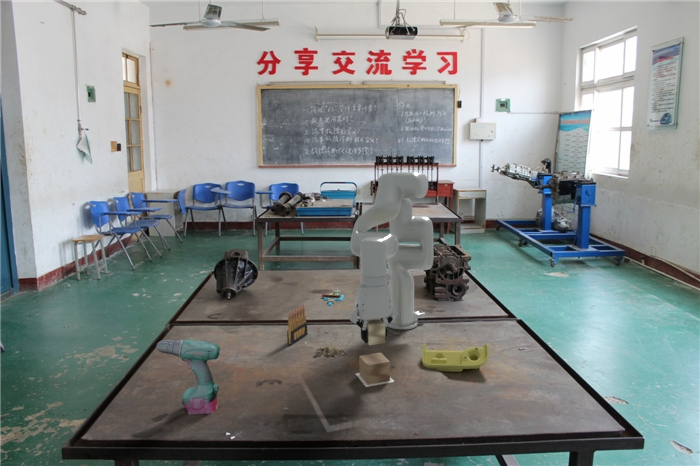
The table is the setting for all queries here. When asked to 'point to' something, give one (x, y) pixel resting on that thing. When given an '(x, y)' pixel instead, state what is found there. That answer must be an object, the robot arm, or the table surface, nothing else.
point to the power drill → (196, 372)
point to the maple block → (376, 331)
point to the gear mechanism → (333, 297)
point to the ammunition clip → (296, 325)
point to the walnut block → (374, 368)
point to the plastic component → (455, 359)
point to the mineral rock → (329, 352)
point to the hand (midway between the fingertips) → (374, 339)
